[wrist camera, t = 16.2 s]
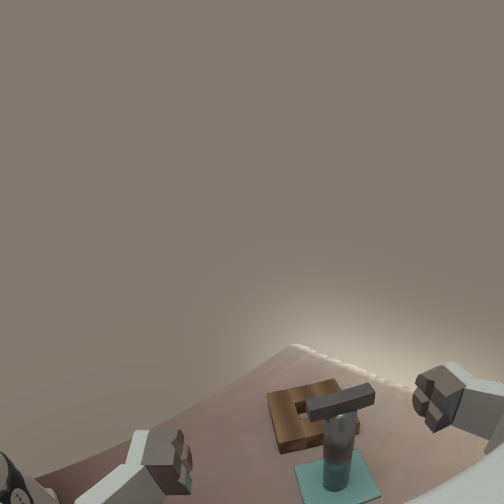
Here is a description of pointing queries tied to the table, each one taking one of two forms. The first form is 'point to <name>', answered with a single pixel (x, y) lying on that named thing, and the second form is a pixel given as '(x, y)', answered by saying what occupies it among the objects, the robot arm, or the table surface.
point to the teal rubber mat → (347, 500)
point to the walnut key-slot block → (287, 420)
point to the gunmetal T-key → (339, 430)
